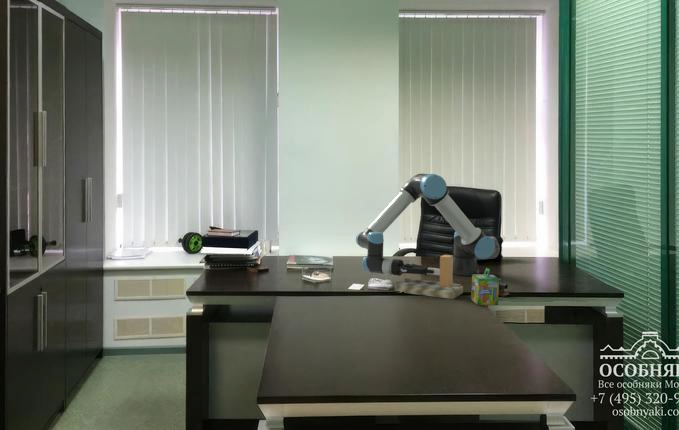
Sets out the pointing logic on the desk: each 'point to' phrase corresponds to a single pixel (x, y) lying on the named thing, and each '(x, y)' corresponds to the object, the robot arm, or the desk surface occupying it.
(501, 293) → the electronic device
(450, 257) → the tall orange upright pillar
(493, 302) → the chalk box
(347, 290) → the desk surface
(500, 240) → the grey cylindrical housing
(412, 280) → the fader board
